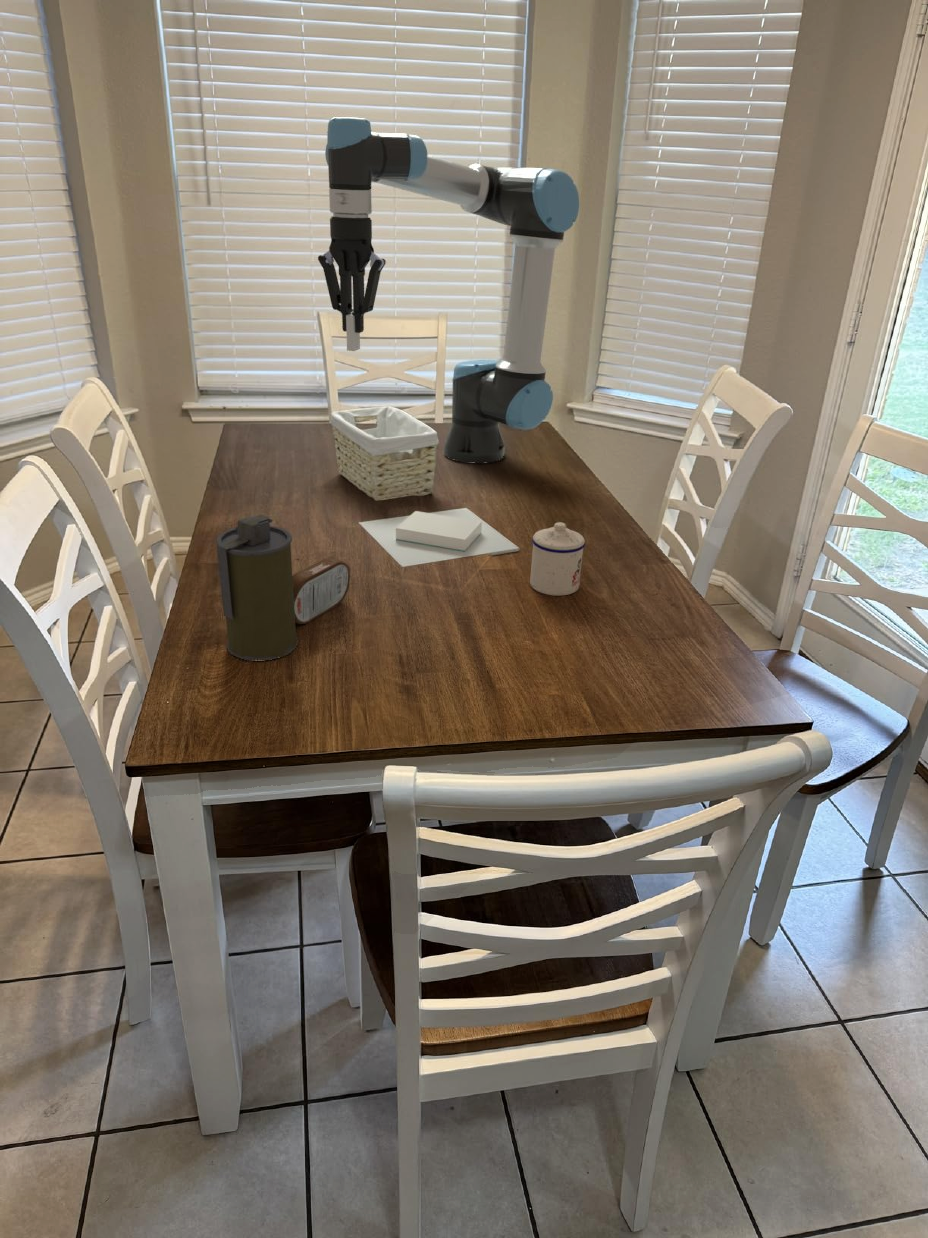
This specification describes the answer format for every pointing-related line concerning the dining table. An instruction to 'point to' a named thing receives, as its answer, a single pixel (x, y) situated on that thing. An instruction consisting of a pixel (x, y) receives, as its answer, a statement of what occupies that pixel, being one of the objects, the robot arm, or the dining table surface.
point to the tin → (319, 588)
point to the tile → (439, 531)
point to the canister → (257, 589)
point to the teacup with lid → (556, 560)
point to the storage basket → (385, 452)
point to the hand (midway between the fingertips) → (353, 349)
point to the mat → (424, 554)
